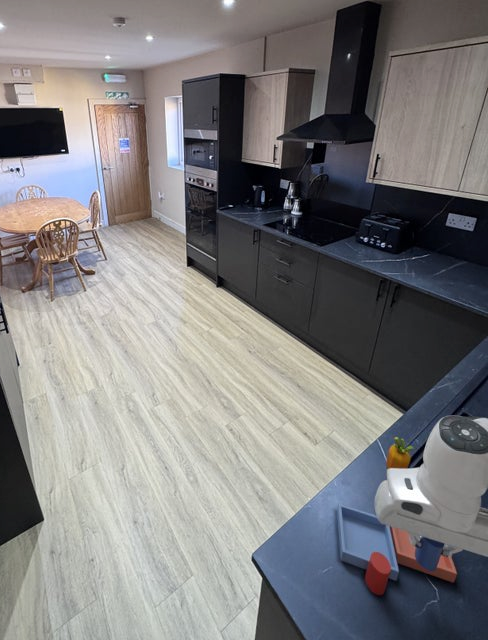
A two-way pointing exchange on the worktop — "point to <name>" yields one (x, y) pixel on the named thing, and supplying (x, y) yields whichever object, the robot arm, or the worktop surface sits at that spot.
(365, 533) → the blue bin
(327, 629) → the worktop surface
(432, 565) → the blue peg
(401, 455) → the carrot
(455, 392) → the worktop surface
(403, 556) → the red bin
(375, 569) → the red peg
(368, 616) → the worktop surface
